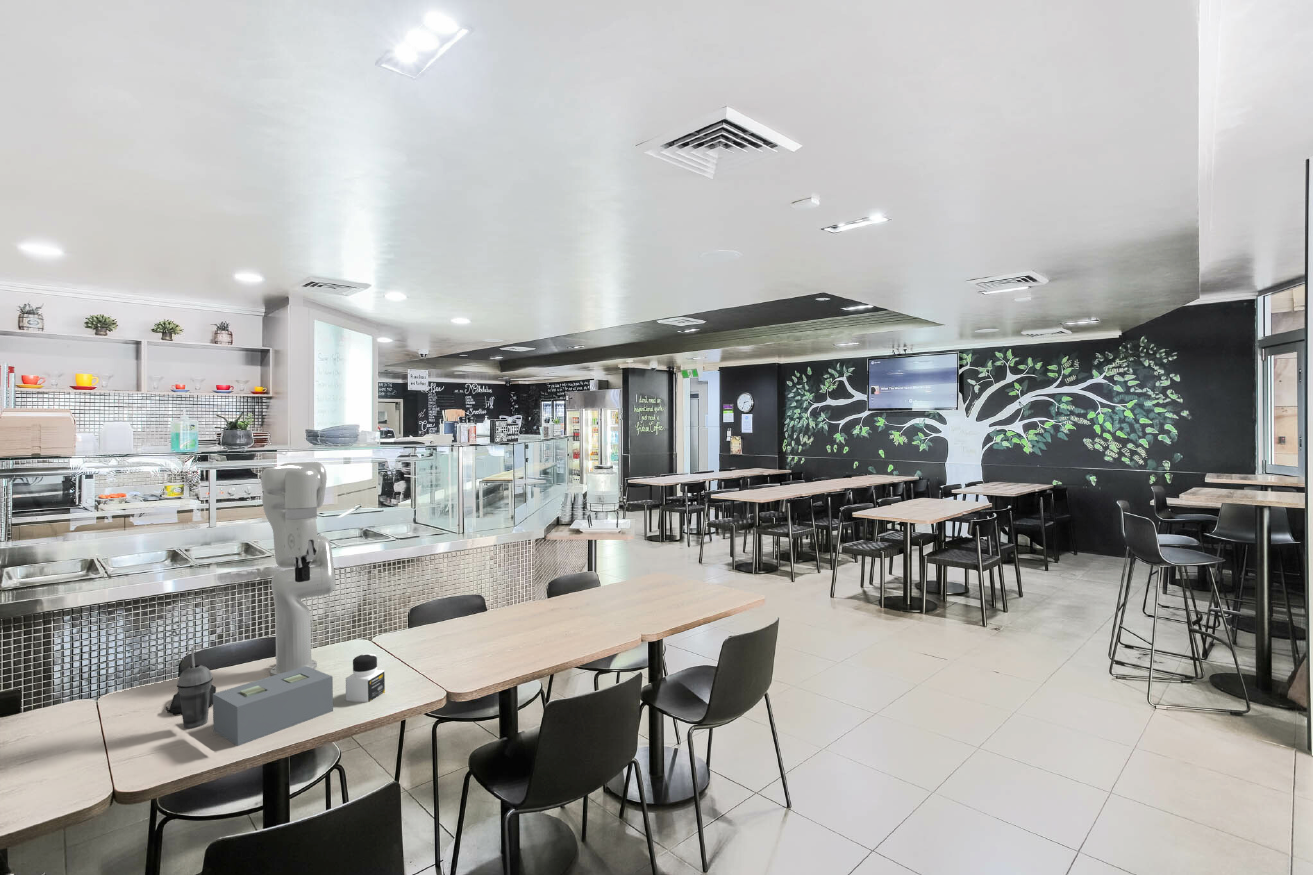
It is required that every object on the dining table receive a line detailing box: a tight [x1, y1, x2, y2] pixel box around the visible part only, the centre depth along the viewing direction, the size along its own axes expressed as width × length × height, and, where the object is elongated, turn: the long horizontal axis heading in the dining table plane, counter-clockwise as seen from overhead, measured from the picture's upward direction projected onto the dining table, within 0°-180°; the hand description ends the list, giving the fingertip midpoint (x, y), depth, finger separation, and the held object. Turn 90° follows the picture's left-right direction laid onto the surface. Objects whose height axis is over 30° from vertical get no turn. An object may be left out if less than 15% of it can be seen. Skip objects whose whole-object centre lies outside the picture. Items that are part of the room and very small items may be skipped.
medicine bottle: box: [345, 653, 386, 703], centre depth 171 cm, size 7×7×12 cm
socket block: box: [212, 666, 334, 747], centre depth 157 cm, size 14×22×10 cm, turn 145°
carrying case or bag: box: [165, 683, 217, 716], centre depth 171 cm, size 11×3×15 cm
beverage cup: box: [176, 646, 214, 730], centre depth 156 cm, size 7×7×20 cm
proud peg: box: [240, 686, 265, 697], centre depth 153 cm, size 4×4×9 cm
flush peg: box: [283, 674, 307, 683], centre depth 161 cm, size 4×4×9 cm
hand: (302, 580), depth 171 cm, fingers closed
